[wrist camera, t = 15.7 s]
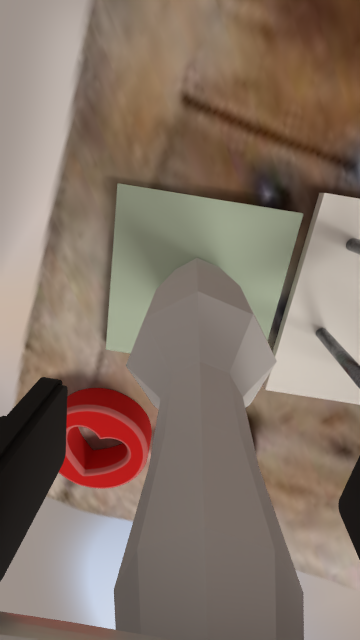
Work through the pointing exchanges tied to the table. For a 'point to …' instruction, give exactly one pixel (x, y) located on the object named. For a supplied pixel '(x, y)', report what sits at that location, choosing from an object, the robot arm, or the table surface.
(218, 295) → the faceted bottle
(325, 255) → the wire board
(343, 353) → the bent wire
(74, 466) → the decorative ornament
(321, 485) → the table surface
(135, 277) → the pale green flat panel
